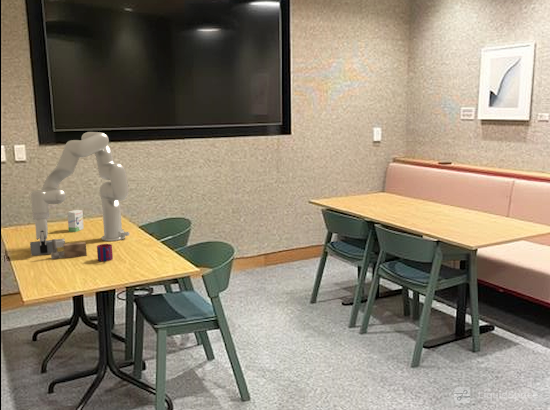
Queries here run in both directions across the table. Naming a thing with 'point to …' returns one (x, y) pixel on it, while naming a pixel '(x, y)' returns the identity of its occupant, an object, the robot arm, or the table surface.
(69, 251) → the walnut hinge leaf
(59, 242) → the charcoal hinge leaf
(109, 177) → the robot arm
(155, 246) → the table surface
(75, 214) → the ink box
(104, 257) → the mug
